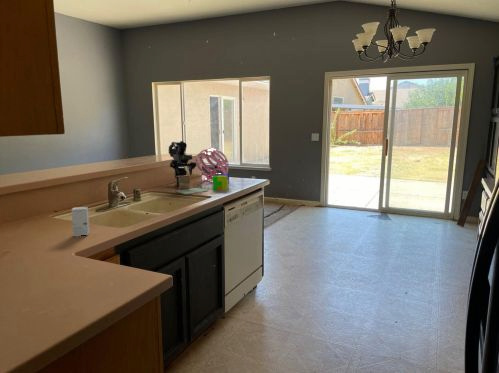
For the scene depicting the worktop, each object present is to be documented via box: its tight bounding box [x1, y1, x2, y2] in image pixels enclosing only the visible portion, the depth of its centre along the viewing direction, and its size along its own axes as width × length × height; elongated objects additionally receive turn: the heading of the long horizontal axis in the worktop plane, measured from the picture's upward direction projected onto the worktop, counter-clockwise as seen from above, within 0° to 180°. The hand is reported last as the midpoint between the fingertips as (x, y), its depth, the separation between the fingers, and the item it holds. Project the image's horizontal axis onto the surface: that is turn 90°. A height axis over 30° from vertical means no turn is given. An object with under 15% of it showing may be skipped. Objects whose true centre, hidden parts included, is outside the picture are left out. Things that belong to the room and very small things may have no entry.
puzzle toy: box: [212, 173, 230, 191], centre depth 259 cm, size 10×10×10 cm
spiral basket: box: [194, 148, 230, 184], centre depth 288 cm, size 28×28×27 cm
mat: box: [175, 187, 209, 196], centre depth 252 cm, size 14×18×1 cm
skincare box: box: [71, 206, 91, 237], centre depth 157 cm, size 6×4×12 cm
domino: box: [178, 174, 191, 190], centre depth 258 cm, size 3×7×10 cm, turn 128°
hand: (185, 174), depth 257 cm, fingers open, 9 cm apart
